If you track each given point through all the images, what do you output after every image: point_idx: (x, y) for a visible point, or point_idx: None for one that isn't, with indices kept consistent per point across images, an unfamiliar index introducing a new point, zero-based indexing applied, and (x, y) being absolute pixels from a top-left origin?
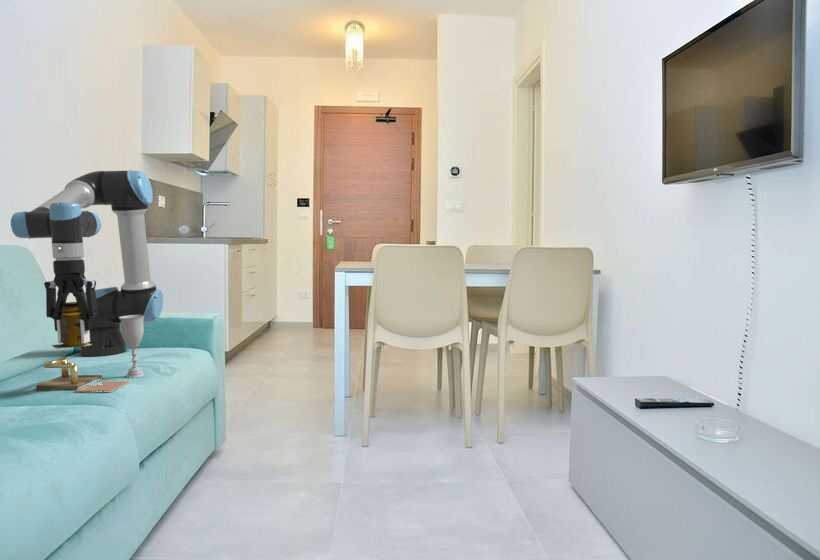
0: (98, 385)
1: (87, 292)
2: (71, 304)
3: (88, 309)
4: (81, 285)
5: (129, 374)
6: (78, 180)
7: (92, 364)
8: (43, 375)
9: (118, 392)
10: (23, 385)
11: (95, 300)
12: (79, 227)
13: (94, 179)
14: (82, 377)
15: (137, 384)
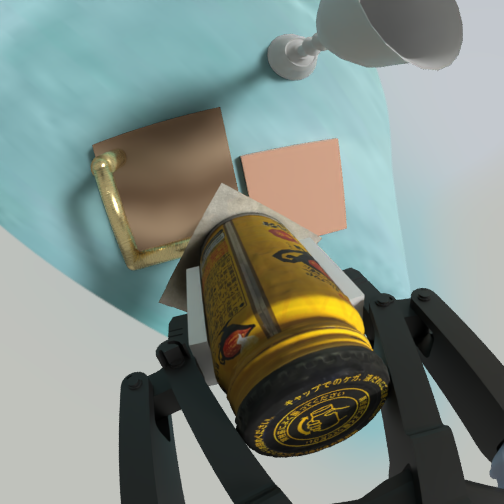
0: (286, 194)
1: (482, 435)
2: (348, 436)
3: (423, 361)
4: (470, 496)
5: (292, 73)
6: None
7: None
8: (8, 133)
9: (360, 219)
10: (56, 231)
11: (481, 352)
12: None
13: None
14: (179, 147)
15: (360, 145)
